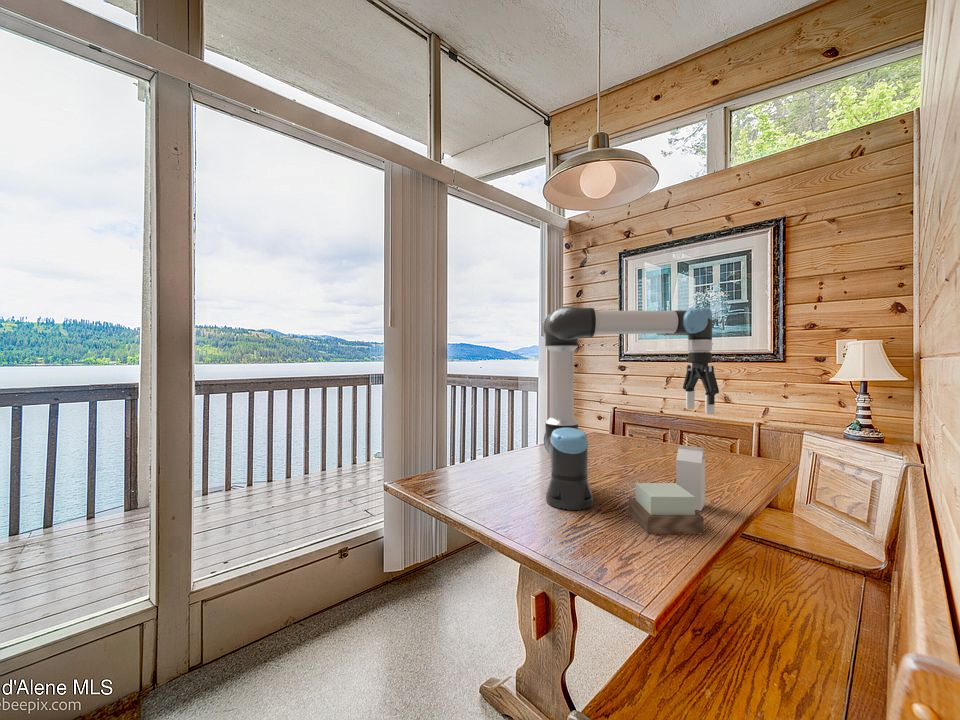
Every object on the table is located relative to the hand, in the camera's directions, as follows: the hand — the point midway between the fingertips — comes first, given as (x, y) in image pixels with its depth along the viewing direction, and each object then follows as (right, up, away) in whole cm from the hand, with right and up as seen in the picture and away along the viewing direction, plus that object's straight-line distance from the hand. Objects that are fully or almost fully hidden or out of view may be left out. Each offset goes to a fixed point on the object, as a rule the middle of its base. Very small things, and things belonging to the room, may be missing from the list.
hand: (699, 411), depth 147 cm
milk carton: (-11, -28, -16) cm, 34 cm away
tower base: (-25, -29, -28) cm, 48 cm away
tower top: (-26, -24, -28) cm, 45 cm away
